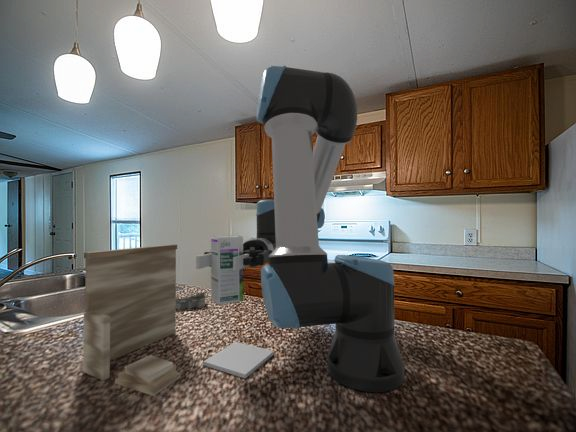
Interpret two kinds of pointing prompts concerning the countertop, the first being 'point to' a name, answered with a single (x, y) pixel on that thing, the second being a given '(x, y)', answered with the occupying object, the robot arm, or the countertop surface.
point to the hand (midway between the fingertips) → (215, 263)
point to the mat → (239, 359)
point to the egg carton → (191, 301)
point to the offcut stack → (148, 375)
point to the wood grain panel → (127, 303)
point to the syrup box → (226, 269)
